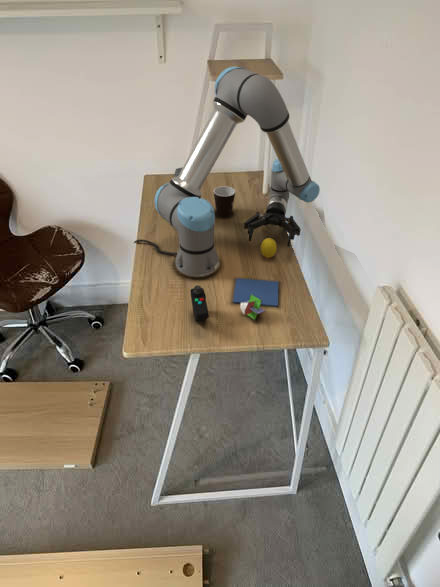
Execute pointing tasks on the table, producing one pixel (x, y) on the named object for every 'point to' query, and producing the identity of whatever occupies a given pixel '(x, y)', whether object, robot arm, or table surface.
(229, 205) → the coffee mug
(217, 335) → the table surface
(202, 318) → the controller
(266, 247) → the lemon
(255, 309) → the geometric puzzle
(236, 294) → the blue mat
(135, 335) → the table surface
